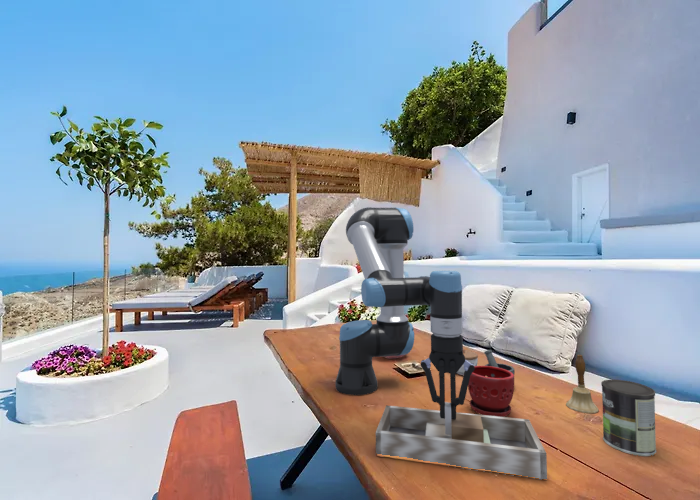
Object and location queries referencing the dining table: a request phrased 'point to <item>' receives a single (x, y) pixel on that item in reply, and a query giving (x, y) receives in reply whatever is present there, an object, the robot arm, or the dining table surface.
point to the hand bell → (581, 392)
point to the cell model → (393, 357)
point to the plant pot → (491, 390)
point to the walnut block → (467, 428)
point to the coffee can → (629, 417)
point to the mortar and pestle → (493, 363)
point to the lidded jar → (470, 357)
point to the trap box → (462, 442)
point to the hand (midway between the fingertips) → (448, 431)
